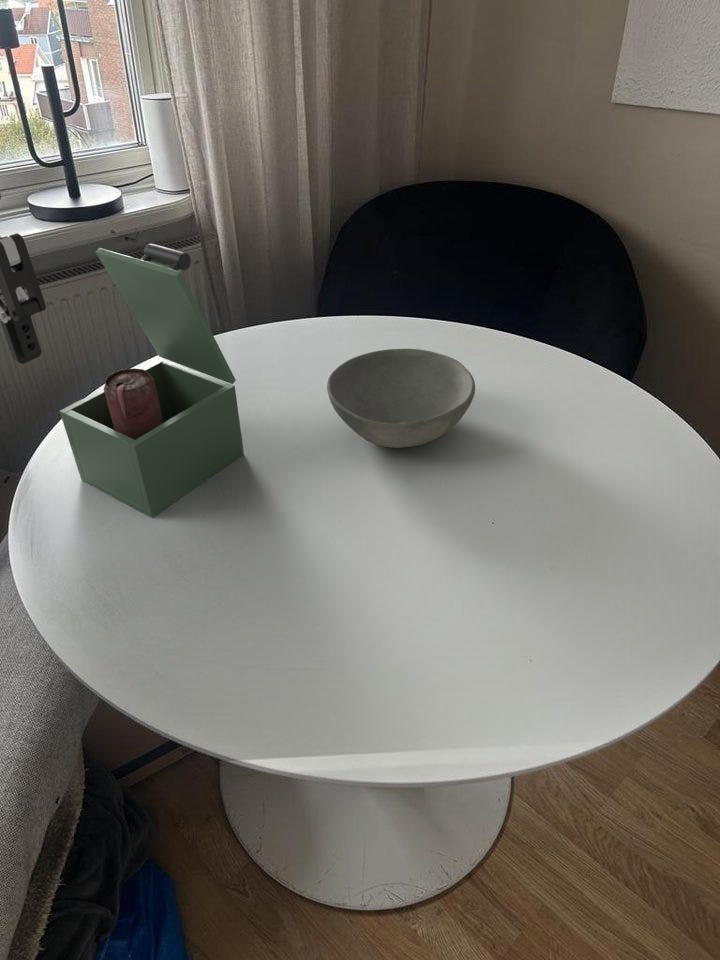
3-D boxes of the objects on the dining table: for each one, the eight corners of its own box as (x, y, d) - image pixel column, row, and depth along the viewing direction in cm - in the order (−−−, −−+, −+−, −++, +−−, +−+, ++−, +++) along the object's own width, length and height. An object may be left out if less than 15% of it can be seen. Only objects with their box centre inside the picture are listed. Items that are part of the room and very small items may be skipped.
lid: (176, 275, 78) (206, 245, 80) (94, 251, 85) (124, 224, 87) (232, 384, 92) (256, 356, 95) (159, 356, 99) (183, 331, 101)
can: (122, 486, 92) (96, 393, 84) (130, 458, 97) (107, 367, 89) (169, 483, 93) (148, 390, 84) (174, 455, 98) (156, 365, 89)
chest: (152, 518, 88) (134, 446, 82) (81, 480, 95) (59, 410, 88) (244, 453, 100) (234, 385, 93) (174, 423, 106) (161, 357, 99)
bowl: (483, 468, 96) (489, 418, 91) (330, 474, 95) (327, 424, 91) (458, 389, 113) (462, 344, 108) (327, 394, 112) (325, 349, 107)
